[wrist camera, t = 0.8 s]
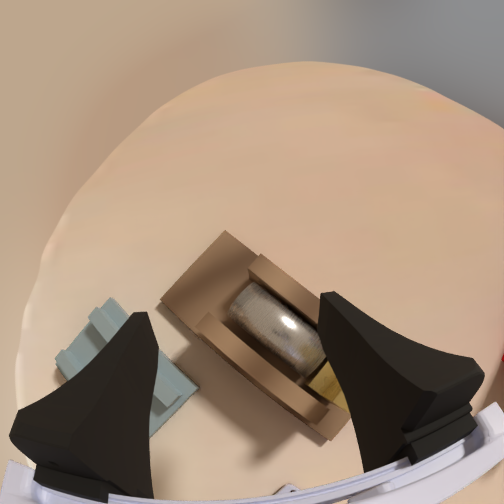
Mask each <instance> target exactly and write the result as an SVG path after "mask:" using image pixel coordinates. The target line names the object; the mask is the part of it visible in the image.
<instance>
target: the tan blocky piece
mask: <svg viewBox="0 0 504 504" xmlns="http://www.w3.org/2000/svg"><path fill="white" fill-rule="evenodd" d="M304 384H305V385H307V386H308V387H309V388H311V389H312V390H313V391H315V392H316V393H317V394H319V395H320V396H321V397H323V398H324V399H325V400H327V401H328V402H329V403H331V404H333V405H334V406H336V407H338V408H340V409H342V410H344V411H345V412H347V413H349V414H350V412H349V409H348V405H347V402H346V399H345V396H344V394H343V391H342V389H341V387H340V385H339V383H338V380H337V378H336V376H335V374H334V372H333V370H332V368H331V366H330V363H329V361H328V359H327V357H325V359H324V360H323V361H322V362H321V364H320V365H319V366H318V367H317V368H316V369H315V371H314V372H313V373H312V374H311V376H310V377H309V378H308V379H307V380H306V382H305V383H304Z"/></svg>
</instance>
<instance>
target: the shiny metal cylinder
mask: <svg viewBox="0 0 504 504" xmlns="http://www.w3.org/2000/svg"><path fill="white" fill-rule="evenodd" d="M227 315H228V316H229V317H230V318H231V319H232V320H233V321H234V322H236V323H237V324H238V325H239V326H240V327H242V328H243V329H244V330H245V331H246V332H247V333H249V334H250V335H251V336H252V337H253V338H255V339H256V340H257V341H258V342H260V343H261V344H262V345H263V346H264V347H266V348H267V349H268V350H269V351H271V352H272V353H273V354H274V355H275V356H277V357H278V358H279V359H280V360H282V361H283V362H284V363H286V364H287V365H288V366H289V367H291V368H292V369H293V370H294V371H296V372H297V373H298V374H300V375H301V376H302V377H303V378H306V377H308V376H309V375H310V374H311V373H312V372H313V371H314V370H315V369H316V368H317V367H318V366H319V365H320V364H321V362H322V361H323V360H324V359H325V357H326V355H325V353H324V351H323V348H322V345H321V342H320V338H319V335H318V332H317V330H316V329H315V328H313V327H312V326H311V325H310V324H308V323H307V322H306V321H304V320H303V319H302V318H301V317H299V316H298V315H297V314H296V313H294V312H293V311H292V310H291V309H289V308H288V307H287V306H286V305H284V304H283V303H282V302H280V301H279V300H278V299H277V298H275V297H274V296H273V295H272V294H270V293H269V292H268V291H267V290H266V289H264V288H263V287H262V286H261V285H259V284H258V283H257V282H253V283H251V284H250V285H248V286H247V287H246V288H245V289H244V290H243V291H242V292H241V293H240V295H239V296H238V297H237V298H236V299H235V301H234V302H233V303H232V305H231V306H230V308H229V310H228V312H227Z"/></svg>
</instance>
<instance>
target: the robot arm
mask: <svg viewBox="0 0 504 504" xmlns="http://www.w3.org/2000/svg"><path fill="white" fill-rule="evenodd" d="M317 332H318V335H319V338H320V342H321V345H322V348H323V351H324V353H325V355H326V357H327V359H328V361H329V363H330V366H331V368H332V370H333V372H334V374H335V376H336V378H337V380H338V383H339V385H340V387H341V389H342V391H343V394H344V396H345V399H346V402H347V405H348V409H349V412H350V415H351V418H352V422H353V425H354V429H355V433H356V437H357V441H358V445H359V449H360V454H361V459H362V464H363V470H364V473H363V474H360V475H357V476H354V477H351V478H348V479H344V480H341V481H337V482H334V483H330V484H326V485H322V486H318V487H314V488H309V489H305V490H300V489H299V488H297V487H295V486H294V485H292V484H286V485H285V486H283V487H282V488H281V489H280V490H279V491H278V492H277V493H276V494H274V495H271V496H263V497H255V498H246V499H234V500H216V501H175V500H158V499H154V496H153V488H152V480H151V469H150V451H149V424H150V411H151V405H152V399H153V393H154V387H155V381H156V376H157V370H158V355H159V346H158V343H157V341H156V338H155V335H154V332H153V329H152V326H151V323H150V320H149V316H148V313H147V312H134V313H133V314H132V315H131V316H130V317H129V318H128V319H127V321H126V322H125V323H124V324H123V325H122V327H121V328H120V329H119V330H118V331H117V333H116V334H115V335H114V336H113V337H112V338H111V340H110V341H109V342H108V343H107V344H106V345H105V346H104V348H103V349H102V350H101V351H100V352H99V353H98V354H97V355H96V356H95V357H94V358H93V359H92V360H91V361H90V362H89V363H88V364H87V365H86V366H85V367H84V368H83V369H82V370H81V371H80V372H78V373H77V374H76V375H75V376H74V377H72V378H71V379H70V380H68V381H67V382H66V383H65V384H63V385H62V386H61V387H59V388H58V389H56V390H55V391H53V392H52V393H50V394H49V395H47V396H45V397H44V398H42V399H40V400H38V401H37V402H35V403H33V404H31V405H29V406H27V407H25V408H22V409H20V410H18V413H17V415H16V418H15V420H14V423H13V426H12V428H11V431H10V434H9V437H10V440H11V442H12V443H13V444H14V445H15V446H16V447H17V448H18V449H19V450H20V451H21V452H22V453H23V454H25V455H26V456H27V457H28V458H29V459H31V460H32V461H33V462H34V463H36V464H37V465H36V469H35V470H34V469H32V468H30V467H28V466H26V465H23V464H20V463H18V462H15V461H13V460H9V461H8V464H7V468H6V472H5V475H4V480H3V484H2V488H1V492H0V504H332V503H335V502H339V501H342V500H346V499H348V501H347V502H348V503H347V504H439V503H441V502H443V501H444V500H446V499H448V498H449V497H451V496H453V495H454V494H456V493H457V492H459V491H460V490H462V489H464V488H465V487H466V486H468V485H469V484H471V483H472V482H474V481H475V480H477V479H478V478H479V477H481V476H482V475H483V474H485V473H486V472H487V471H489V470H490V469H491V468H493V467H494V466H495V465H496V464H498V463H499V462H500V461H501V460H502V459H504V413H503V411H502V410H501V408H500V407H499V405H498V404H497V403H496V402H493V403H492V404H490V405H489V406H487V407H486V408H484V409H483V410H481V411H480V412H479V413H477V414H476V415H475V416H474V417H472V415H471V414H470V412H471V411H472V406H471V405H470V403H469V402H470V401H471V399H472V398H473V396H474V395H475V394H476V392H477V391H478V389H479V388H480V386H481V385H482V383H483V380H484V377H485V373H484V372H483V370H482V369H481V368H480V366H479V365H478V364H477V363H476V361H475V360H474V359H473V358H470V357H464V356H459V355H454V354H450V353H446V352H443V351H439V350H436V349H433V348H430V347H427V346H425V345H422V344H420V343H417V342H415V341H412V340H410V339H408V338H406V337H404V336H402V335H400V334H398V333H396V332H394V331H392V330H390V329H389V328H387V327H385V326H384V325H382V324H380V323H379V322H377V321H376V320H374V319H373V318H371V317H370V316H368V315H367V314H365V313H364V312H362V311H361V310H360V309H358V308H357V307H355V306H354V305H353V304H351V303H350V302H349V301H347V300H346V299H345V298H343V297H342V296H340V295H339V294H338V293H336V292H335V291H333V292H326V293H321V295H320V306H319V316H318V325H317ZM291 490H295V492H290V491H291Z"/></svg>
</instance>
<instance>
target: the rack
mask: <svg viewBox="0 0 504 504" xmlns="http://www.w3.org/2000/svg"><path fill="white" fill-rule="evenodd" d="M88 318H89V320H90V321H89V323H88V324H87V325H86V326H85V327H84V329H83V330H82V331H81V332H80V333H79V335H78V336H77V337H76V338H75V340H74V341H73V342H72V343H71V345H70V346H69V347H68V348H67V350H61V351H60V352H59V354H58V355H57V356H56V357H55V360H56V362H57V363H56V366H57V367H58V369H59V370H60V372H61V373H62V375H63V376H64V377H65V379H66V380H67V381H68V380H70V379H71V378H72V377H74V376H75V375H76V374H77V373H78V372H80V371H81V370H82V369H83V368H84V367H85V366H86V365H87V364H88V363H89V362H90V361H91V360H92V359H93V358H94V357H95V356H96V355H97V354H98V353H99V352H100V351H101V350H102V349H103V348H104V346H105V345H106V344H107V343H108V342H109V341H110V340H111V338H112V337H113V336H114V335H115V334H116V333H117V331H118V330H119V329H120V328H121V327H122V325H123V324H124V323H125V322H126V321H127V319H128V318H129V316H128V315H127V313H126V312H125V311H124V310H123V309H122V308H121V307H120V305H119V304H118V303H117V302H116V301H115V300H114V299H112V298H109V299H108V300H107V301H106V303H105V304H104V305H103V306H102V307H101V308H98V307H96V308H95V309H94V310H93V311H92V313H91V314H90V315H89V316H88ZM199 388H200V387H198V386H197V385H196V384H195V383H194V382H193V381H192V380H191V379H190V378H189V377H188V376H186V375H185V374H184V373H183V372H182V371H181V370H180V369H179V368H178V367H177V366H176V365H175V364H174V363H173V362H172V361H171V360H170V359H169V358H168V357H167V356H166V355H165V354H164V353H163V352H162V351H161V350H160V349H159V355H158V370H157V376H156V381H155V387H154V393H153V399H152V405H151V411H150V424H149V439H150V438H151V437H152V436H153V435H154V434H155V433H156V432H157V431H158V430H159V429H160V428H161V427H162V426H163V425H164V424H165V423H166V422H167V421H168V420H169V419H170V418H171V417H172V416H173V415H174V414H175V413H176V412H177V411H178V409H179V408H180V407H181V406H182V405H183V404H184V403H185V402H186V401H187V400H188V399H189V398H190V397H191V396H192V395H193V394H194V393H195V392H196V391H197V390H198V389H199Z"/></svg>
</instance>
